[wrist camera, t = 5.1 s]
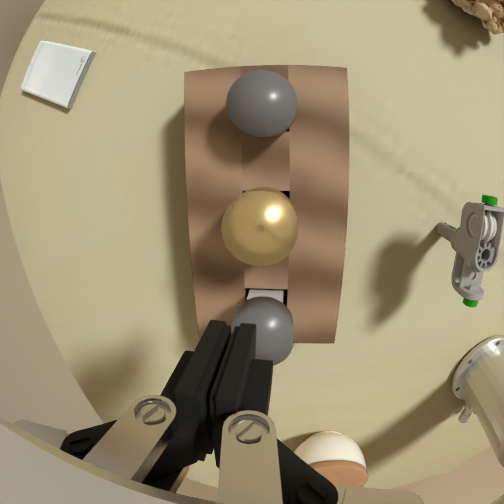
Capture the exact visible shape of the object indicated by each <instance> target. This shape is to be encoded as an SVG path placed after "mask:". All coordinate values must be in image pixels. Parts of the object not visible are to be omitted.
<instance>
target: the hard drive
mask: <svg viewBox="0 0 504 504" xmlns="http://www.w3.org/2000/svg"><path fill="white" fill-rule="evenodd" d="M95 54H96V52H94V51H91V50H87V49H82V48H78V47H73V46H68V45H63V44H59V43H53V42H47V41H40V43H39V45H38V47H37V49H36V51H35V53H34V56H33V58H32V60H31V63H30V65H29V67H28V70H27V72H26V75H25V78H24V80H23V83H22V86H21V90H22V91H25V92H27V93H30V94H33V95H35V96H38V97H40V98H43V99H45V100H48V101H50V102H53V103H55V104H58V105H60V106H63V107H65V108H68V109H72V106H73V104H74V101H75V99H76V96H77V94H78V91H79V89H80V87H81V84H82V82H83V80H84V77H85V75H86V73H87V71H88V69H89V67H90V64H91V62H92V60H93V58H94V56H95Z"/></svg>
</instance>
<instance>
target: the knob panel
mask: <svg viewBox="0 0 504 504" xmlns="http://www.w3.org/2000/svg"><path fill="white" fill-rule="evenodd" d="M256 70H268V71H272V72H275V73H278V74H280V75H282V76H283V77H284V78H286V79H287V80H288V81H289V82H290V83H291V85H292V86H293V88H294V90H295V92H296V96H297V111H296V116H295V119H294V121H293V123H292V125H291V126H290V127H289V129H288V130H287V131H285V132H284V133H282V134H281V135H279V136H276V137H273V138H266V139H264V138H257V137H253V136H251V135H249V134H247V133H245V132H243V131H242V130H240V129H239V128H237V127H236V126H235V125H234V124H233V122H232V121H231V119H230V117H229V115H228V113H227V108H226V99H227V94H228V91H229V89H230V87H231V86H232V84H233V83H234V82H235V81H236V80H237V79H238V78H239V77H241V76H242V75H244V74H246V73H249V72H251V71H256ZM184 130H185V167H186V190H187V209H188V225H189V240H190V253H191V265H192V276H193V287H194V297H195V306H196V315H197V324H198V333H199V337H202V335H203V333H204V331H205V329H206V328H207V326H208V324H209V322H210V320H218V321H226V324H227V325H230V326H231V324H232V321H233V318H234V315H235V312H236V310H237V308H238V307H239V306H240V305H241V304H242V303H243V302H244V301H246V300H247V297H248V294H249V290H250V288H260V289H284V297H283V304H284V305H286V306H287V308H288V309H289V310H290V312H291V314H292V317H293V343H334V341H335V335H336V328H337V320H338V313H339V305H340V296H341V287H342V277H343V267H344V256H345V243H346V229H347V212H348V189H349V101H348V79H347V68H342V67H328V66H307V65H262V66H241V67H227V68H216V69H206V70H198V71H190V72H184ZM256 187H270V188H274V189H276V190H278V191H280V192H285V195H286V196H287V197H288V198H289V199H290V200H291V202H292V203H293V205H294V207H295V210H296V213H297V220H298V237H297V241H296V244H295V246H294V248H293V249H292V251H291V252H290V253H289V254H288V256H287V257H285V258H284V259H283V260H281V261H280V262H278V263H275V264H273V265H269V266H253V265H249V264H246V263H244V262H242V261H240V260H238V259H237V258H236V257H235V256H233V255H232V254H231V252H230V251H229V250H228V248H227V247H226V245H225V243H224V240H223V237H222V231H221V224H222V219H223V216H224V213H225V211H226V209H227V208H228V206H229V205H230V204H231V203H232V202H233V201H234V200H235V199H236V198H238V197H239V196H240V195H241V194H243V193H244V192H246V191H247V190H249V189H252V188H256Z"/></svg>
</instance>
